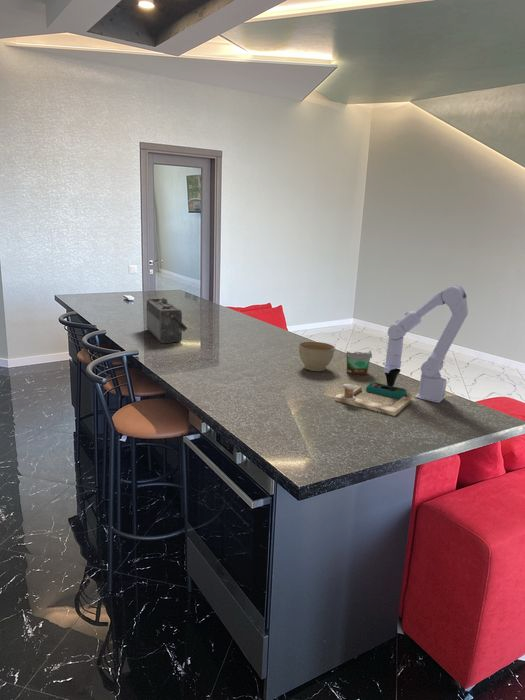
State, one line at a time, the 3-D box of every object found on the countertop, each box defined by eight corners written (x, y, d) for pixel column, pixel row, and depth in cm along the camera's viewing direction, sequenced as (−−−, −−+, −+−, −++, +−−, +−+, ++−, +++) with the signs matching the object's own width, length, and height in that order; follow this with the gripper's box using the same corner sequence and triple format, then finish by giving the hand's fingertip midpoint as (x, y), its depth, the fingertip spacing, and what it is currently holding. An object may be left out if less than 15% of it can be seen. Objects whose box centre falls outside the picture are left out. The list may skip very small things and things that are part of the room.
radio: (146, 329, 282) (145, 295, 277) (170, 328, 288) (170, 295, 283) (160, 344, 249) (160, 306, 244) (187, 343, 254) (188, 305, 249)
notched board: (410, 402, 182) (412, 386, 180) (393, 416, 167) (396, 399, 165) (354, 388, 194) (355, 373, 193) (334, 400, 179) (335, 384, 178)
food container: (349, 377, 209) (351, 354, 207) (343, 372, 215) (345, 351, 212) (375, 376, 213) (377, 354, 210) (368, 371, 218) (370, 350, 216)
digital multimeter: (371, 387, 198) (371, 380, 197) (406, 395, 190) (407, 388, 190) (364, 392, 192) (364, 385, 191) (400, 400, 184) (401, 393, 184)
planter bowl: (331, 375, 210) (333, 351, 207) (295, 371, 213) (296, 348, 210) (334, 365, 225) (335, 343, 223) (299, 362, 228) (301, 340, 226)
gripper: (390, 348, 200) (387, 379, 203) (377, 355, 188) (374, 388, 191) (407, 351, 196) (403, 383, 199) (395, 358, 184) (391, 392, 188)
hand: (390, 386), depth 195 cm, fingers closed
